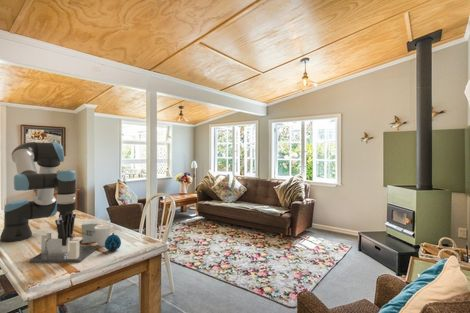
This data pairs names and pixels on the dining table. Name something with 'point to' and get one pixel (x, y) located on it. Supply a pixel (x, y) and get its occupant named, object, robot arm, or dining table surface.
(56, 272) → the dining table surface
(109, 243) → the ornament
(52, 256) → the base
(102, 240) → the cup
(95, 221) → the ink box
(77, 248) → the block
